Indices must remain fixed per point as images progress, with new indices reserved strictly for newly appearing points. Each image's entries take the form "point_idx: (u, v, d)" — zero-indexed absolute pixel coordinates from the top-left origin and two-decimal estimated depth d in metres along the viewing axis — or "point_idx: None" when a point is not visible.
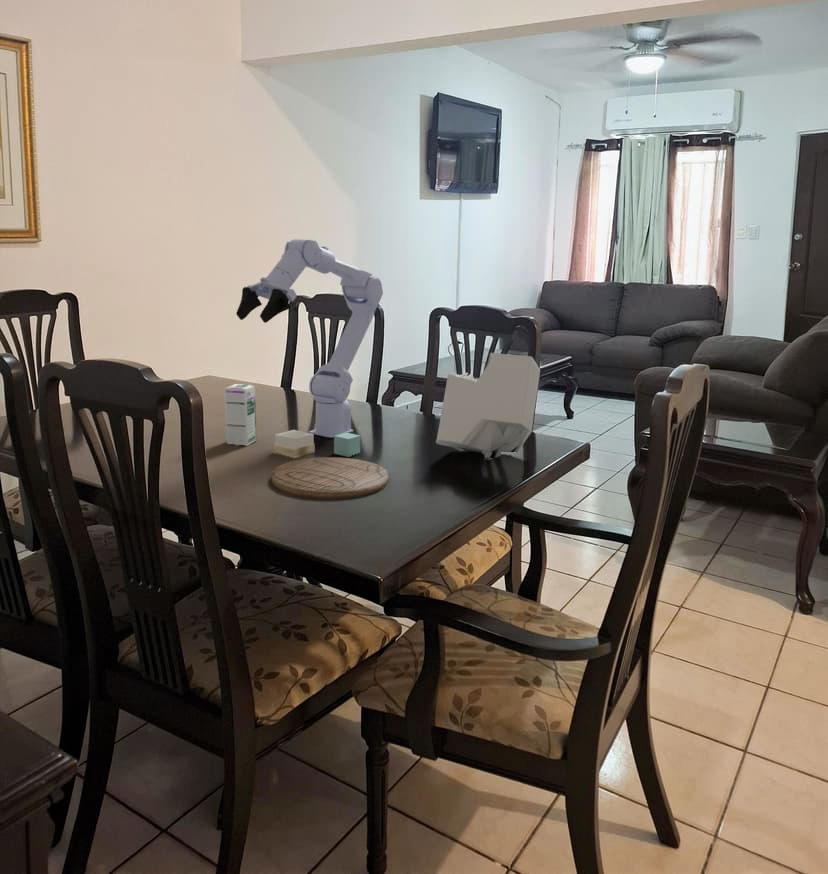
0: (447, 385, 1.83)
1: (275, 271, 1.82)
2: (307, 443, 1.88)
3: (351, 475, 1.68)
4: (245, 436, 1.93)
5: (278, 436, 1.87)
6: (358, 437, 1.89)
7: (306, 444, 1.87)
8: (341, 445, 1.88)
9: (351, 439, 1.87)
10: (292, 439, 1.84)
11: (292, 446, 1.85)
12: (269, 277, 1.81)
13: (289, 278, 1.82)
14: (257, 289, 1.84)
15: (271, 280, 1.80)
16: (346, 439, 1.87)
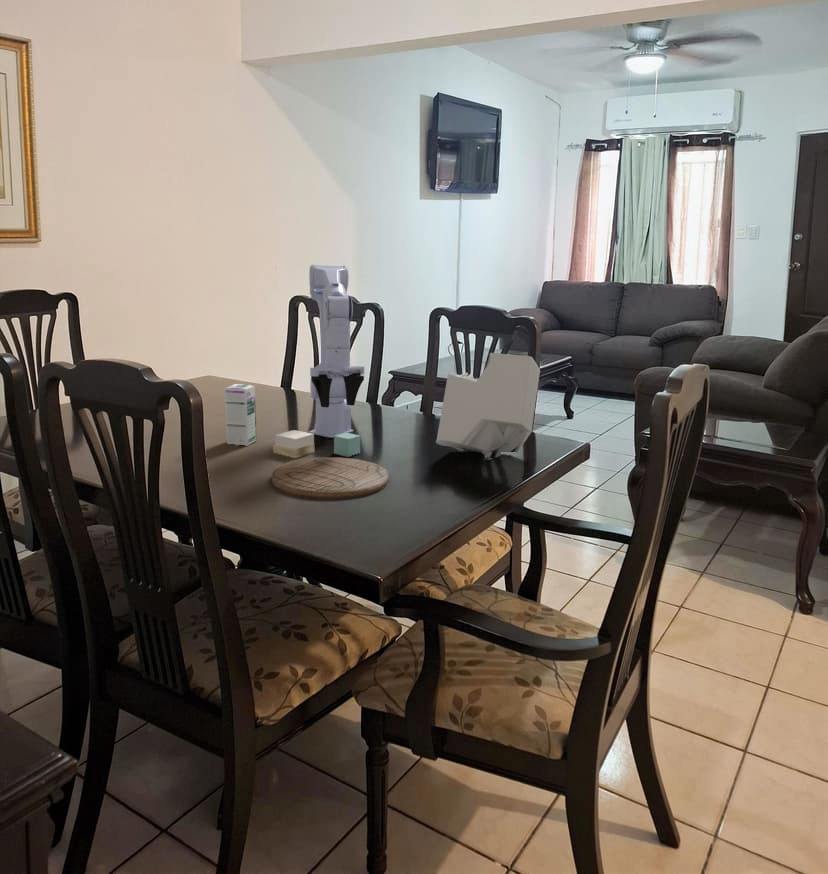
0: (447, 385, 1.83)
1: (346, 353, 1.81)
2: (307, 443, 1.88)
3: (351, 475, 1.68)
4: (245, 436, 1.93)
5: (278, 436, 1.87)
6: (358, 437, 1.89)
7: (306, 444, 1.87)
8: (341, 445, 1.88)
9: (351, 439, 1.87)
10: (292, 439, 1.84)
11: (292, 446, 1.85)
12: (345, 362, 1.81)
13: None
14: (326, 371, 1.80)
15: (348, 365, 1.82)
16: (346, 439, 1.87)
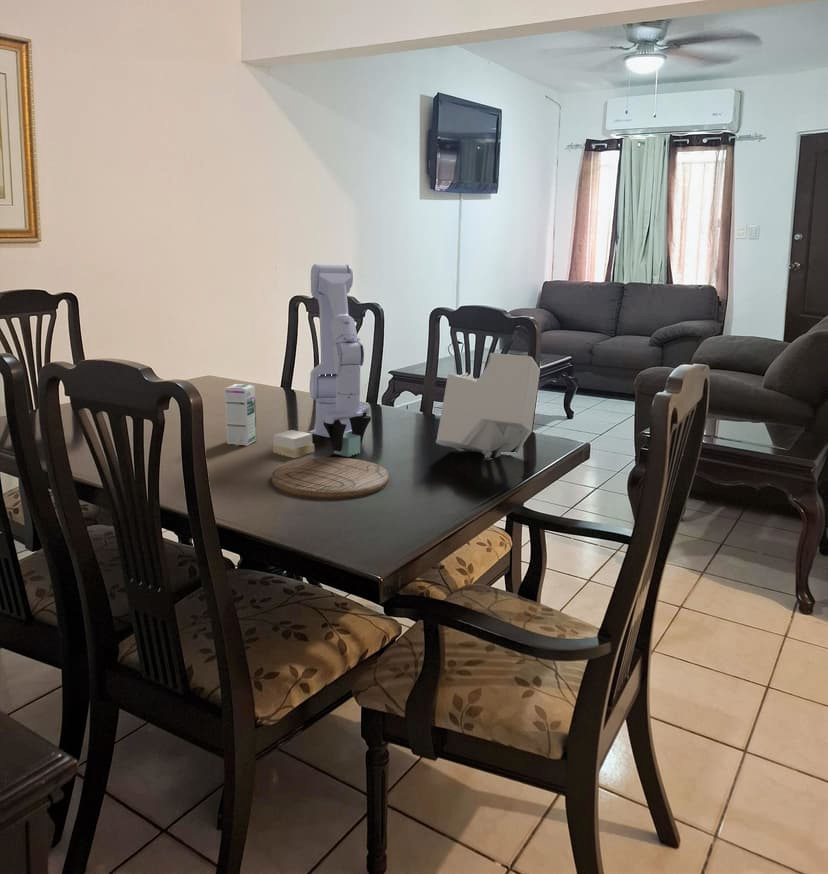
0: (447, 385, 1.83)
1: (358, 398, 1.86)
2: (306, 443, 1.88)
3: (351, 475, 1.68)
4: (245, 436, 1.93)
5: (277, 436, 1.87)
6: (358, 437, 1.89)
7: (305, 444, 1.87)
8: None
9: (351, 439, 1.87)
10: (291, 439, 1.84)
11: (291, 446, 1.85)
12: (357, 407, 1.86)
13: None
14: None
15: (359, 409, 1.87)
16: (346, 439, 1.87)
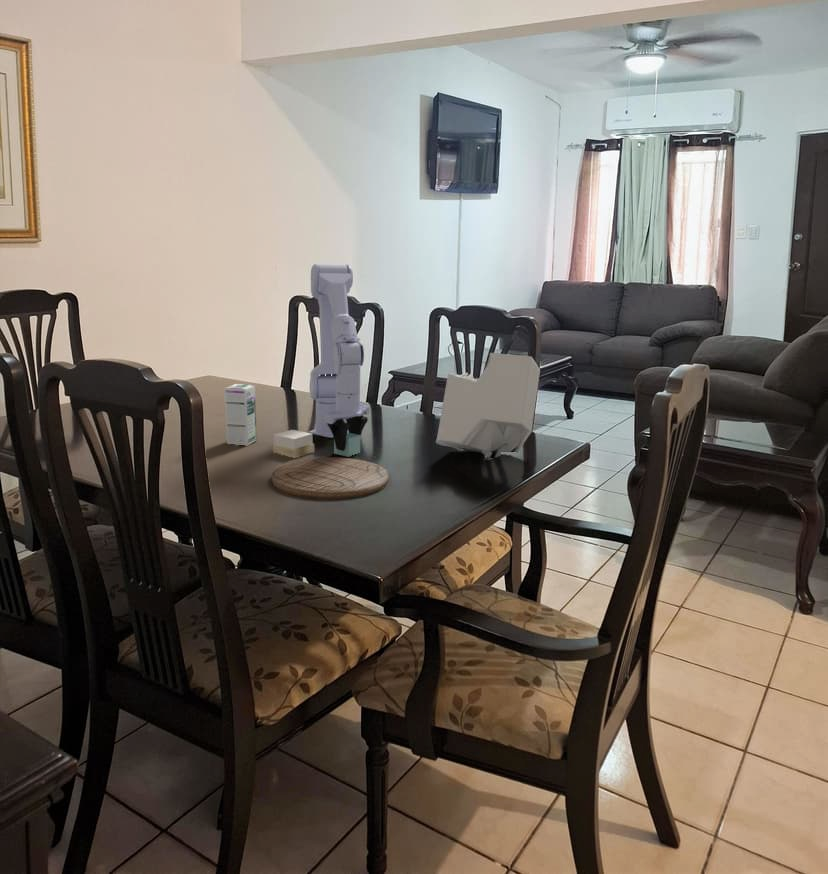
0: (447, 385, 1.83)
1: (358, 398, 1.86)
2: (306, 443, 1.88)
3: (351, 475, 1.68)
4: (245, 436, 1.93)
5: (277, 436, 1.87)
6: (358, 437, 1.89)
7: (305, 444, 1.87)
8: None
9: (351, 439, 1.87)
10: (291, 439, 1.84)
11: (291, 446, 1.85)
12: (357, 407, 1.86)
13: None
14: None
15: (359, 409, 1.87)
16: (346, 439, 1.86)
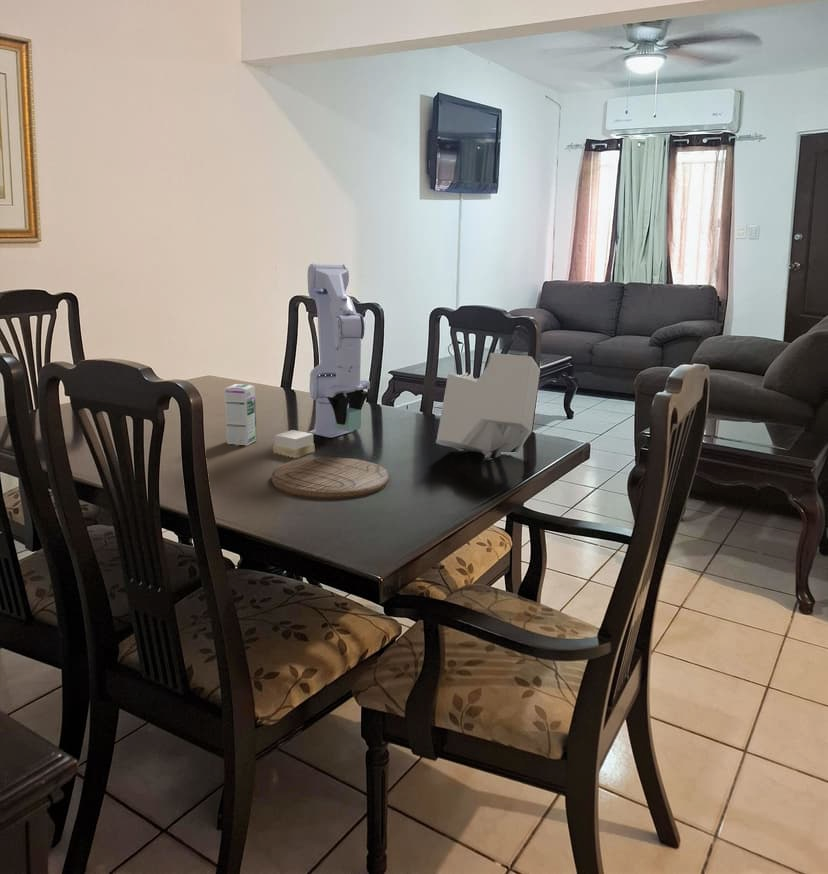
0: (447, 385, 1.83)
1: (358, 372, 1.84)
2: (307, 443, 1.88)
3: (351, 475, 1.68)
4: (245, 436, 1.93)
5: (278, 436, 1.86)
6: (359, 411, 1.88)
7: (306, 444, 1.87)
8: None
9: (352, 413, 1.85)
10: (293, 439, 1.84)
11: (293, 446, 1.85)
12: (357, 381, 1.84)
13: None
14: None
15: (359, 383, 1.85)
16: (346, 413, 1.85)
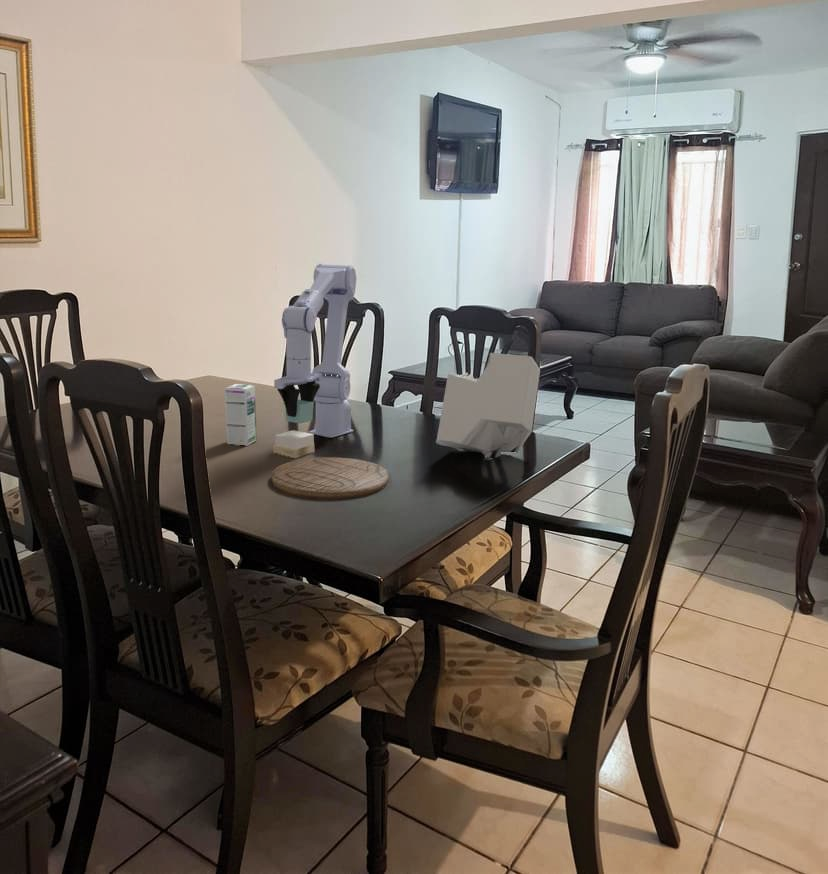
0: (447, 385, 1.83)
1: (308, 363, 1.83)
2: (308, 443, 1.88)
3: (351, 475, 1.68)
4: (245, 436, 1.93)
5: (278, 437, 1.87)
6: (310, 403, 1.86)
7: (307, 444, 1.88)
8: None
9: (302, 405, 1.84)
10: (293, 439, 1.84)
11: (293, 446, 1.85)
12: (307, 372, 1.83)
13: None
14: None
15: (310, 375, 1.84)
16: (297, 405, 1.84)
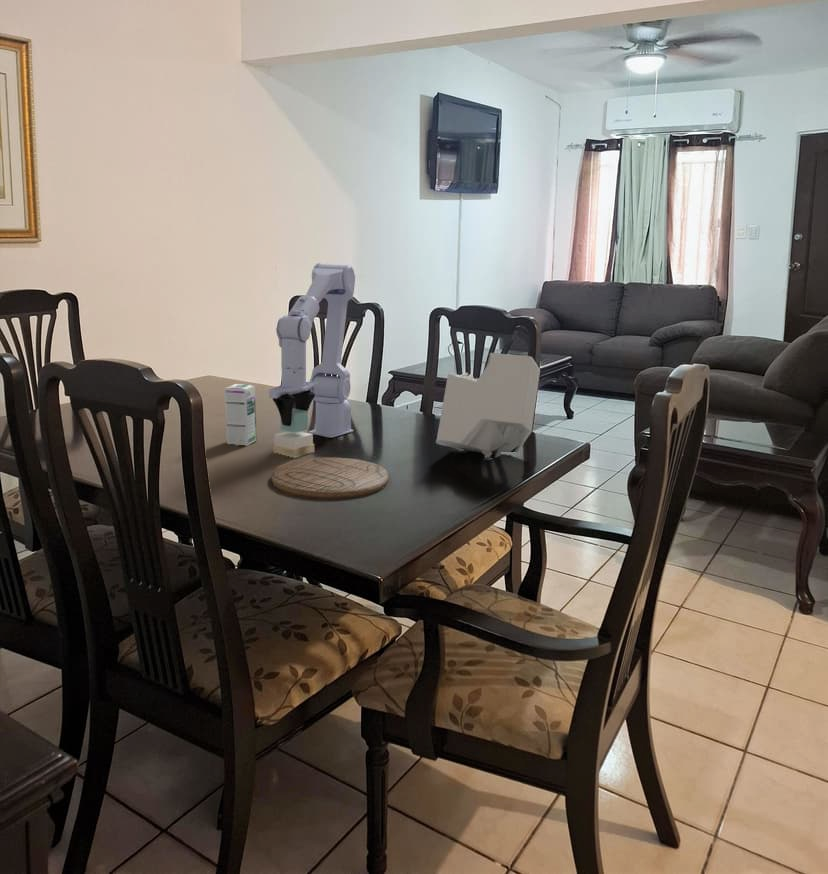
0: (447, 385, 1.83)
1: (303, 372, 1.83)
2: (306, 443, 1.88)
3: (351, 475, 1.68)
4: (245, 436, 1.93)
5: (277, 436, 1.87)
6: (305, 412, 1.87)
7: (305, 444, 1.88)
8: None
9: (297, 414, 1.85)
10: (292, 439, 1.85)
11: (292, 446, 1.85)
12: (302, 382, 1.83)
13: None
14: None
15: (305, 384, 1.84)
16: (292, 414, 1.84)
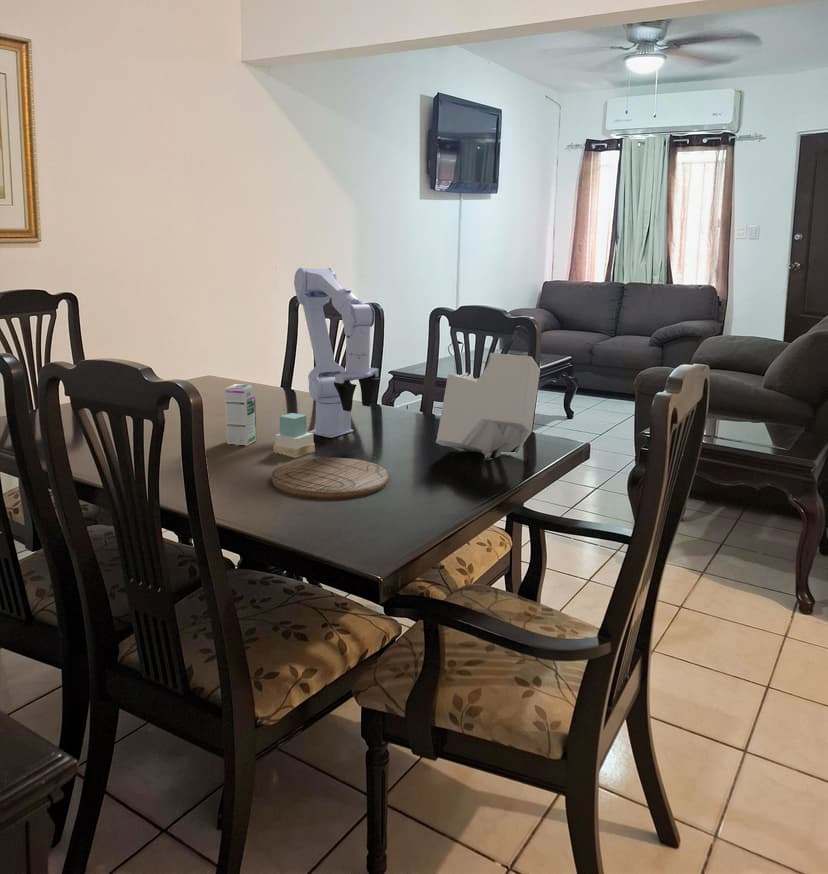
0: (447, 385, 1.83)
1: (367, 359, 1.89)
2: (308, 443, 1.88)
3: (351, 475, 1.68)
4: (245, 436, 1.93)
5: (278, 436, 1.87)
6: (304, 417, 1.88)
7: (307, 444, 1.88)
8: (287, 425, 1.86)
9: (297, 419, 1.85)
10: (294, 439, 1.85)
11: (294, 446, 1.85)
12: (366, 367, 1.90)
13: None
14: None
15: (368, 370, 1.91)
16: (292, 419, 1.85)
